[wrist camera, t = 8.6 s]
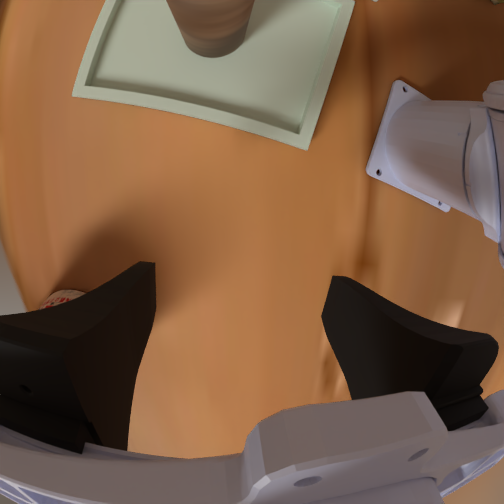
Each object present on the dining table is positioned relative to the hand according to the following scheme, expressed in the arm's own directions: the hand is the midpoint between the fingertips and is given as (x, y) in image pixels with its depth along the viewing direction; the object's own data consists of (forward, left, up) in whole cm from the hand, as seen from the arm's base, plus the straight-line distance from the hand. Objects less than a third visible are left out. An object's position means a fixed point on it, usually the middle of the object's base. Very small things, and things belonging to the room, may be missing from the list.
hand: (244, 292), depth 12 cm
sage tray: (+5, -12, -10) cm, 16 cm away
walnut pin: (+5, -12, -9) cm, 16 cm away
